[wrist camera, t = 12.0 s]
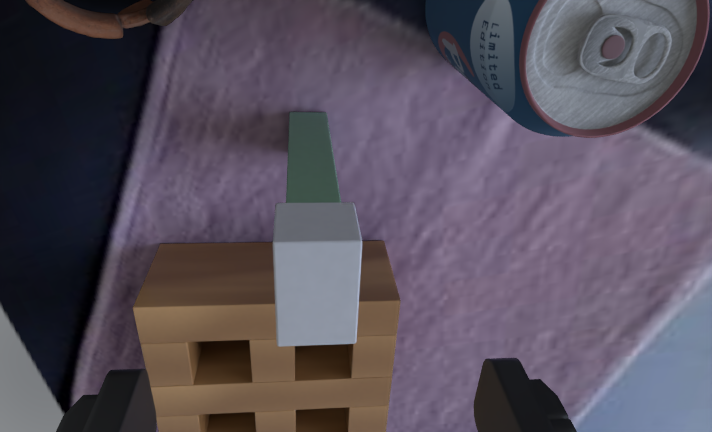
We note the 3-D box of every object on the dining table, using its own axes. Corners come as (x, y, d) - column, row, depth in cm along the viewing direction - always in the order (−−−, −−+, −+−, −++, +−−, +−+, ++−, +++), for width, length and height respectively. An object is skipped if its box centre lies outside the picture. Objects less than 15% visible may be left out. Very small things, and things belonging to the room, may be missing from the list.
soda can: (403, 54, 27) (471, 135, 16) (443, -98, 24) (559, -117, 13) (524, 80, 28) (658, 171, 18) (577, -60, 25) (779, -50, 14)
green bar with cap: (283, 96, 27) (272, 243, 15) (332, 97, 27) (362, 241, 15) (285, 166, 29) (276, 347, 17) (330, 166, 29) (356, 344, 17)
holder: (160, 243, 31) (132, 307, 26) (383, 240, 32) (400, 300, 27) (186, 401, 37) (168, 477, 32) (370, 392, 39) (382, 464, 34)
